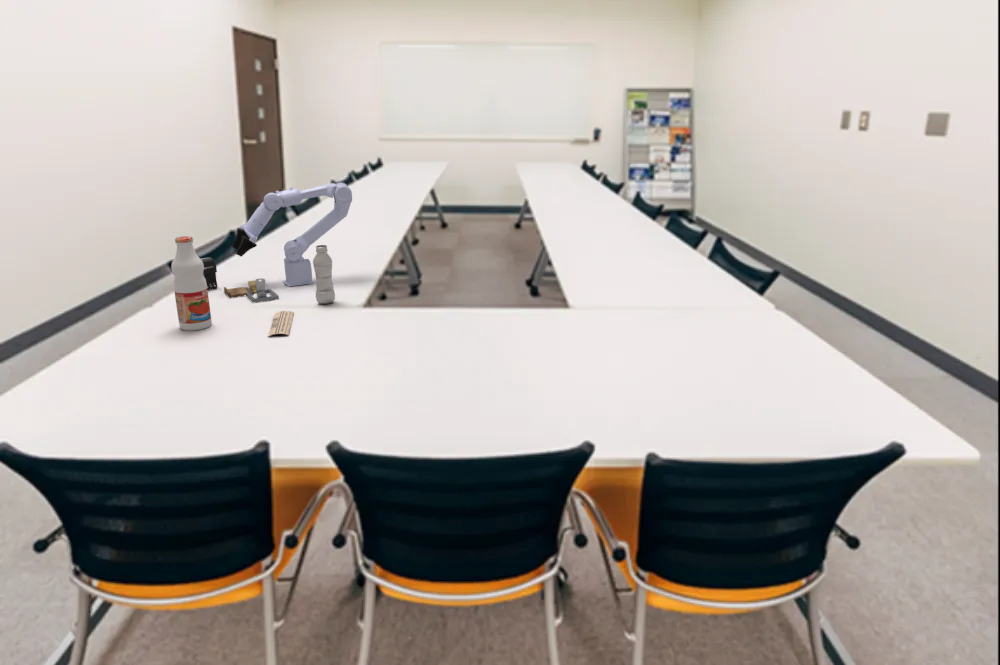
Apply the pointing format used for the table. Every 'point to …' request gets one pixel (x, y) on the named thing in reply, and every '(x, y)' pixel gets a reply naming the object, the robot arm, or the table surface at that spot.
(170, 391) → the table surface
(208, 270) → the battery charger
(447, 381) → the table surface
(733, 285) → the table surface
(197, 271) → the fruit juice
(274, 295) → the socket
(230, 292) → the brown flat slab
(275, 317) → the newspaper
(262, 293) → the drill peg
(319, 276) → the plastic bottle
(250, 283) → the block
